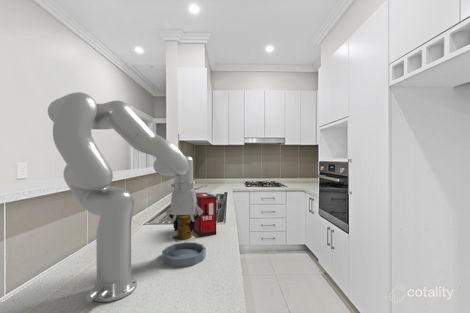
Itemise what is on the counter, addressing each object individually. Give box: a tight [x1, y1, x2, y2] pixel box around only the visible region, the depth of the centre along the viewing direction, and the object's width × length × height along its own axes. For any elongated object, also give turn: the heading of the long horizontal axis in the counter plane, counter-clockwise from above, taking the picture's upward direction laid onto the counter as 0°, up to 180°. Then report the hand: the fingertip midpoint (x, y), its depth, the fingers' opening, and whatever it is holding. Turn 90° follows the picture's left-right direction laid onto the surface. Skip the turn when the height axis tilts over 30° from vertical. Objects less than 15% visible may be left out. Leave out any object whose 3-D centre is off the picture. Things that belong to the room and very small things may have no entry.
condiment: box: [169, 215, 197, 243], centre depth 95 cm, size 7×8×12 cm
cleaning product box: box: [192, 192, 217, 238], centre depth 128 cm, size 16×9×20 cm, turn 27°
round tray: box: [161, 241, 207, 268], centre depth 95 cm, size 17×17×3 cm
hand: (184, 229), depth 95 cm, fingers closed on condiment, 6 cm apart
